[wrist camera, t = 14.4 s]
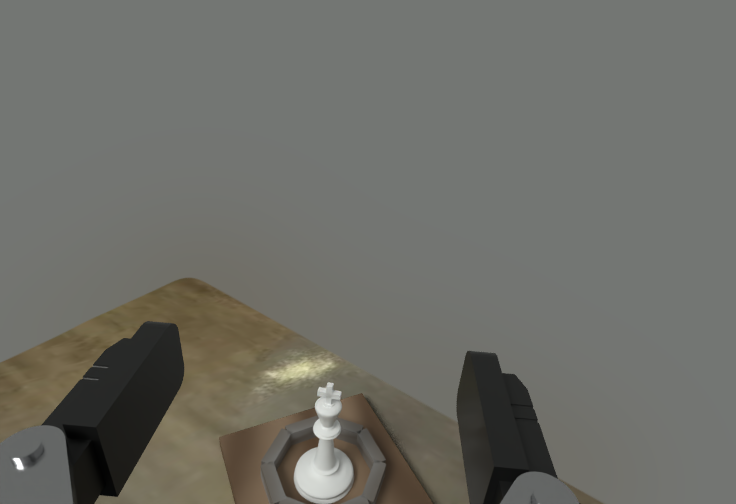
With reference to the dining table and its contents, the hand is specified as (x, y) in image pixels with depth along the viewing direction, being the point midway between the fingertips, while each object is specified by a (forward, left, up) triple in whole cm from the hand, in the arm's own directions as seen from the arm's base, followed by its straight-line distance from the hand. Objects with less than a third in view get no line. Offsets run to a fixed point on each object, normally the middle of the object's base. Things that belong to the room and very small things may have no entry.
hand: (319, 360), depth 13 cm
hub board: (-7, -14, -26) cm, 30 cm away
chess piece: (-7, -13, -25) cm, 30 cm away
